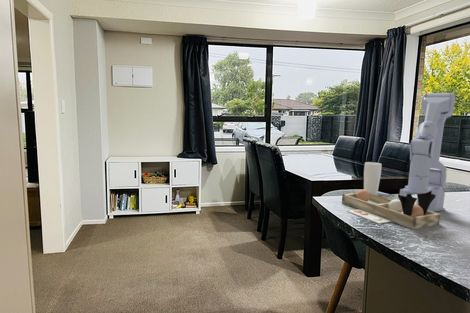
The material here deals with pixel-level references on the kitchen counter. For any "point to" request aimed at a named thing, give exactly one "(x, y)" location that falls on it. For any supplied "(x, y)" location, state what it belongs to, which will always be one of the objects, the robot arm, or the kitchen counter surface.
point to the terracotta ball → (417, 211)
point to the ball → (363, 195)
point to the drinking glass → (372, 176)
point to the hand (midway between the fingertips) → (414, 215)
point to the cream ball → (396, 205)
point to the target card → (369, 216)
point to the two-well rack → (390, 211)
